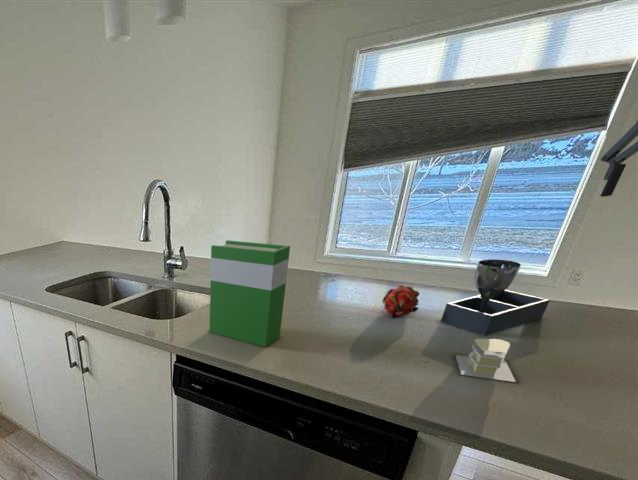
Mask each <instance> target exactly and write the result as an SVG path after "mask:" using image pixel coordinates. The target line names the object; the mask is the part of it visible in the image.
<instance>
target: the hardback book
mask: <svg viewBox="0 0 638 480" xmlns="http://www.w3.org/2000/svg"><path fill="white" fill-rule="evenodd" d="M210 247H211V248H210V249H211V250H210V289H209V290H210V292H209V293H210V295H209V332H210V333H213V334H217V335H221V336H224V337H228V338H232V339H236V340H239V341H241V342H247V343H249V344H254V345H257V346H261V347H264V348H266V347H268V346H269V345H270V344H272V343H273V342H275V341H277V340H279V338H280V337H281V329H282V320H283V311H284V303H285V295H286V286H287V285H286V284H287V277H288V268H289V261H290V260H289V259H290V253H291V252H290V250H291V245H285V244H284V245H283V244H272V243H263V242H262V243H260V242H251V241H250V242H249V241H239V240H230V239H229V240H225V244H223V245H216V244H215V245H214V244H213V245H211V246H210Z"/></svg>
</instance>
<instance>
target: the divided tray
mask: <svg viewBox="0 0 638 480" xmlns="http://www.w3.org/2000/svg"><path fill="white" fill-rule="evenodd" d="M550 301H551V299H548V298H543V297H539V296H535V295H530V294H525V293H521V292H517V291H514V290H513V291H512V290H509V289H505V290H504V291H502V292H500V293H499V294H497V295H495V296H494V297H492V298H491V299H490V300H489V301H488V303H487V305H486V306H485V308H484V311H483V312H479V311H480V307H481V303H482V298H481V295H480V294H478V295H474V296H471V297H470V296H469V297H465V298H462V299H459V300H455V301H451V302H447V303H446V304H445V307H444V310H443V313H442V316H441V319H440V322H442V323H445V324H448V325H451V326H454V327H457V328H459V329H463V330H466V331H470V332H473V333H476V334H479V335H481V336H488V335H490V334H495V333H497V332H501V331H504V330H507V329H511V328H514V327H517V326H521V325H524V324H528V323H532V322H534V321H538V320H541V319H542V318H543V317H544V314H545V312H546V310H547V308H548V306H549V303H550Z"/></svg>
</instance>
